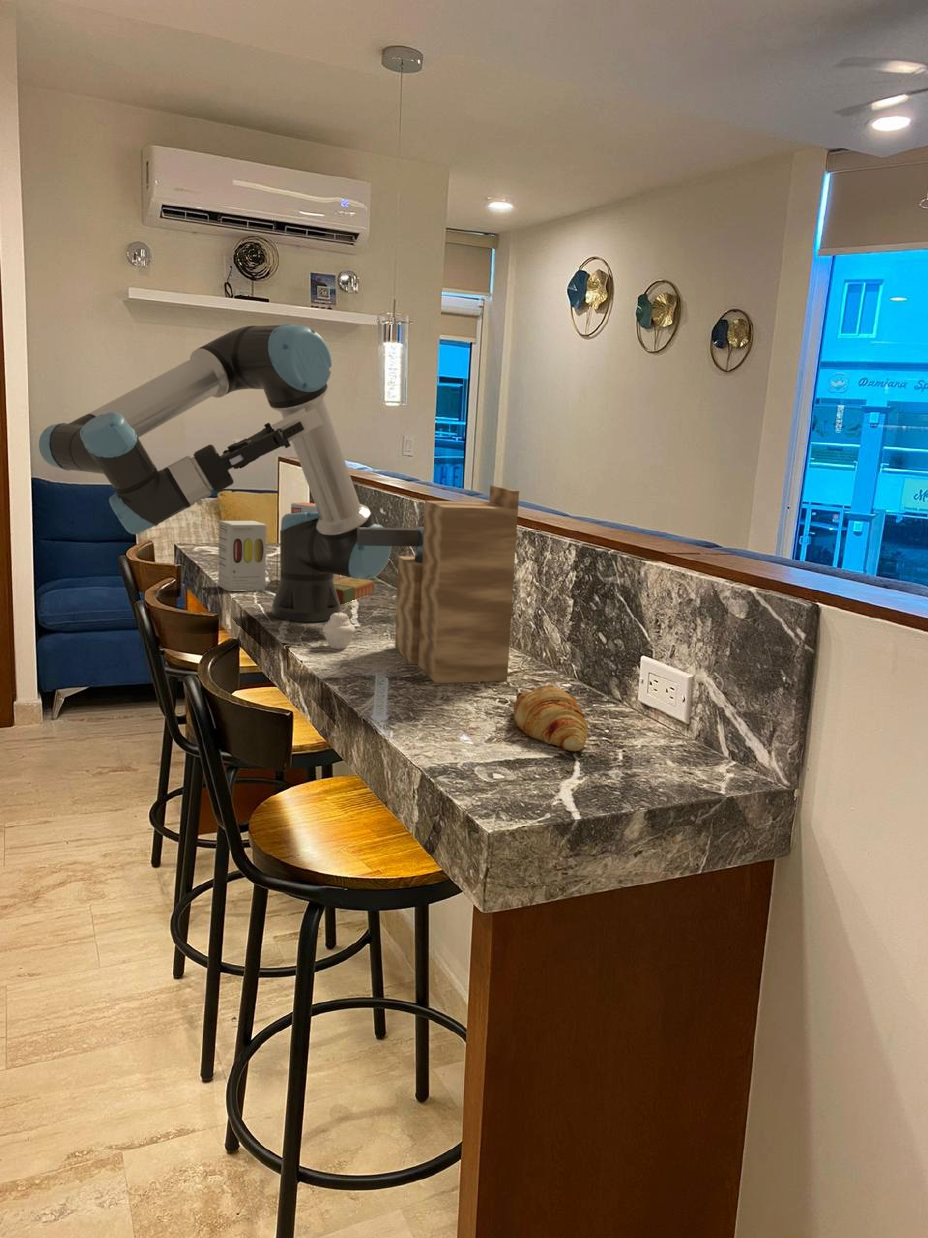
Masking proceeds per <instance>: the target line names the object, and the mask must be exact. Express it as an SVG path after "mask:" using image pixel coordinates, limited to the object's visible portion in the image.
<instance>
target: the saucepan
mask: <svg viewBox="0 0 928 1238" xmlns="http://www.w3.org/2000/svg"><path fill="white" fill-rule="evenodd" d="M423 537H424V526H420V527H414V528H413V527H412V528H411V527H409V528H408V527H407V528H406V527H385V528H372V527H357V544H358V545H359V546H392V547H414V556H415V558H414V561H415V562H418V563H422V560H423Z"/></svg>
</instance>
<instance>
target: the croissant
mask: <svg viewBox="0 0 928 1238" xmlns="http://www.w3.org/2000/svg"><path fill="white" fill-rule="evenodd" d="M584 715H585V714H584V713H582V712H581V708H580V707H579V704H578V702H577V699H576V698H575V697H574V696H572V695H571V694H569V693H567V692H566V691H565V690H562V689H560V688H557V687H554V686H553V685H546V686H541V687H537V688H535V689H533V690H531V691H526V692H519V693H517V695H516V700H515V703H514V705H513V719H514V722H515V723H516V725H517V727H518V728H519V729H520V730H522V731H523V733H525V734H526V735H527V736H529V737H531V738H532V739H535V740H539V741H542V742H545V743H546V744H548V745H552V746H556V747H561V748H562V749H563V750H564V751H565V750H566V751H570V752H577V751H580V750H583V749H584V747H585V745H586V742H587V737H588V734H589V732H588V731H589V730H588V729H589V728H588V724H587V720H586V718H585V716H584Z"/></svg>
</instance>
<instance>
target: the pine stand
mask: <svg viewBox="0 0 928 1238" xmlns="http://www.w3.org/2000/svg"><path fill="white" fill-rule="evenodd" d="M489 489H490V490H489V499H488V501H486V502H485V501H460V500H459V501H458V500H457V501H456V500H455V501H454V500H449V501H448V500H424V515H423V517H424V519H423V527H424V537H423V560H422V563H418V562H415V561H414V558H415V555H413V556H411V555H410V556H409V555H408V556H406V555H403V556H402V555H398V557H397V559H398V562H397V564H398V565H397V589H396V613H395V614H396V616H395V617H396V619H395V635H394V636H395V642H394V648H395V649H396V650H397V649H398V650H397V651H398V652H399V653H400V654H401V655H402V656H403V657H404V658H405V660H407V661H408V662H409V663H410V664H411V665H417V666H418V667H419V668H420V669H421V670H422V671H423V672H424V673H425V674H426V675H427V676H428V677H429V678H430V680H432V681H433V682H434V683H435V684H448V683H449V684H450V683H475V682H476V683H478V682H479V681H480V682H481V681H482V682H483V681H484V682H505V681H508V676H509V675H508V674H509V660H510V659H509V656H510V644H511V643H510V641H511V626H512V622H511V621H512V610H513V609H512V608H513V607H512V606H513V594H514V592H513V591H514V581H515V579H514V578H515V577H514V576H515V566H516V565H515V563H516V562H515V561H516V545H517V531H518V530H517V529H518V528H517V527H518V514H519V502H520V500H519V499H520V491H519V490H517V489H512V488H507V487H502V486H500V485H499V486H498V485H490V488H489ZM480 682H479V683H480Z"/></svg>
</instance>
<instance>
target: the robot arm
mask: <svg viewBox="0 0 928 1238" xmlns="http://www.w3.org/2000/svg"><path fill="white" fill-rule="evenodd" d="M331 367H332V355H331V353H330V350H329V346H328V345H327V343H326V341H325V340H324V338H323V337H322V336H321V335H320V333H318V332H317V331H316V330H314V329H312V328H311V327H308V326H305V325H297V324H292V323H284V324H279V325H277V324H276V325H271V324H270V325H246V326H242V327H239V328H236V329H233V330H231V331H229V332H226V333H225V334H223V335H221V336H219V337H217V338H215V339H213V340H211V341H209V342H208V343H205V344H204V345H203V346H200V347H198V348H197V349H195V350H193V351H192V352H191V354H190V357H189V359H188V360H186V361H184V362H183V363H181V364H178V365H177V366H175V367H172V368H171V369H169V370H168V371H166V372H164V373H162V374H160V375H158V376H156V377H154V378H153V379H151V380H149V381H146V382H145V383H143V384H142V385H139V386H138V387H136V388H133V389H131V390H130V391H128V392H126V393H124V394H122V395H121V396H119V397H117V398H115V399H113V400H111V401H109V402H107V403H106V404H103V405H101V406H100V407H98V408H96V409H94V410H93V411H91V412H89V413H87V414H85V415H82V416H80V417H78V418H77V419H74V420H73V421H70V422H69V423H65V422H61V423H60V422H59V423H55V424H51V425H49V426H47V427H46V428H45V429H44V430H43V431H42V432H41V434H40V436H39V438H38V439H39V440H38V449H39V452H40V456H41V457H42V458H43V460H44V461H45V462H46V463H47V464H48V465H50V466H52V467H54V468H57V469H58V468H59V469H61V470H65V471H75V472H77V471H78V472H86V473H87V472H88V473H91V474H92V473H93V474H99V475H100V474H102V475H104V476H105V477H106V479H107V481H108V482H109V483H110V485H111V486H112V488H113V489H114V491H115V493H114V494H113V495H111V496H110V497H109V500H108V502H109V505H110V507H111V509H112V511H113V513H114V515H116V517H117V518H118V521H119V522H120V523H121V525H122V527H124V529H125V531H127V532H128V533H129V534H132V535H139V534H140V533H144V531H147V530H149V529H151V528H154V527H157V526H159V525H160V524H161V523H164V521H165V522H166V520H168V519H170V518H173V517H174V516H175V515H177V514H179V513H181V512H182V511H184V510H186V509H188V508H190V507H191V506H194V505H195V503H196V505H197V506H202V505H203V503H204V502H203V500H205V499H207V498H209V497H212V496H211V495H212V491H214V492H215V493H219V492H221V491H222V490H225V489H227V488H228V487H230V486H232V485H233V484H234V478H233V476H232V475H231V473H230V471H229V470H231V469H234V470H237V469H243V468H244V467H246V466H248V465H249V464H250V463H252V462H254V461H256V460H257V459H259V458H260V457H262V456H265V455H267V454H269V453H271V452H273V451H275V450H277V449H279V448H281V447H282V448H283V447H284V448H285V449H287V448H290V447H291V443H292V445H293V449H294V450H295V454H296V456H297V459H298V461H299V464H300V467H301V470H302V472H303V475H304V478H305V481H306V483H307V486H308V489H309V491H310V494H311V497H312V498H313V501H314V504H315V505H316V507H317V510H318V512H304V513H291V512H290V513H285V514H284V515H283V516H282V517H281V521H280V522H281V523H280V531H279V542H280V544H279V545H280V546H279V547H280V552H279V553H280V556H279V558H280V559H279V561H280V563H279V564H280V565H279V566H280V568H279V569H280V574H279V576H280V578H279V579H280V580H279V584H278V586H277V589H276V592H275V595H274V598H273V600H272V602H271V603H272V604H271V615H272V616H273V617H275V618H276V619H281V620H284V619H285V621H291V620H292V622H323V621H329V620H330V616H331V615H332V614H334V613H339V612H340V613H342V611H341V607H342V605H340V602H339V599H338V595H337V592H336V589H335V585H334V580H333V577H334V574H337V575H340V576H343V577H348V578H354V579H365V580H371V579H375V578H376V577H377V576H379V575H380V574H381V572H382V571H384V569H385V568H386V567H387V565H388V562H389V559H390V556H391V552H392V547H393V546H359V545H358V544H357V527H372V528H386V527H385V526H383V525H382V524H376V523H375V522H374V519H373V516H372V513H371V510H370V509H369V507H368V506H367V505H364V504H362V503H360V500H359V498H358V497H359V496H358V494H357V492H356V489H355V486H354V483H353V481H352V477H351V475H350V474H351V473H350V471H349V469H348V466H347V462H346V460H345V457H344V453H343V451H342V448H341V446H340V442H339V440H338V436H337V434H336V431H335V428H334V426H333V423H332V419H331V417H330V413H329V411H328V408H327V404H326V401H325V399H324V397H325V396H326V393H328V390H329V386H328V381H329V379H330V377H331V374H332V371H331V369H330V368H331ZM248 389H249V390H252V389H253V390H263V391H264V394H265V397H266V399H267V402H268V404H269V407H270V408H271V409H273V410H275V411H277V412H279V413H280V414H281V417H282V418H283V419H281V420H279V421H276V422H274V424H271V423H270V422H267V423H264V428H263V429H262V430H260V431H258V432H256V433H255V434H253V435H251V436H249V437H248V438H244V439H242V440H240V441H238V442H234V443H233V444H230V445H228V446H227V449H224V451H222V454H221V455H220V454H219V452H218V451H217V449H216V447H215V446H214V445H213V444H208V445H206V446H204V447H202V448H200V449H198V450H196V451H194V452H193V456H192V457H191V456H189V455H186V456H185V457H182V458H180V459H179V460H176V461H175V462H173V463H170V464H169V465H167V466H166V467H163V469H160V470H158V469H157V467H156V464H154V462H153V461H152V459H151V457H150V455H149V454H148V452H147V451H146V449H145V447H144V446H143V443H142V442H141V441H140V439H139V438H141V437H142V436H144V435H146V434H148V433H149V432H151V431H153V430H155V429H156V428H159V427H160V426H162V425H164V424H166V423H167V422H169V421H171V420H172V419H175V417H178V416H180V415H181V414H183V413H185V412H186V411H189V410H190V409H192V408H194V407H196V406H197V405H199V404H201V403H203V402H204V401H206V400H208V399H209V398H217V399H218V398H222V397H224V396H226V395H227V394H230V393H232V392H236V391H240V390H241V391H242V390H248ZM290 442H291V443H290Z"/></svg>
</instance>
